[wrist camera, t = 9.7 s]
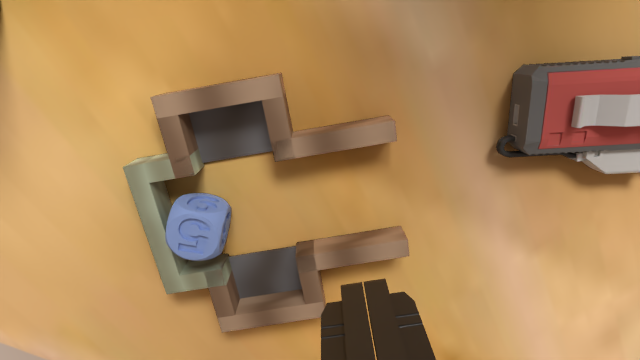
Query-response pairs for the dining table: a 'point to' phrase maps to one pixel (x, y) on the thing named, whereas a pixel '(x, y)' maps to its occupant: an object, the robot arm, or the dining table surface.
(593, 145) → the walkie-talkie
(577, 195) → the dining table surface
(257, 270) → the trap channel
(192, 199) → the decorative dice
